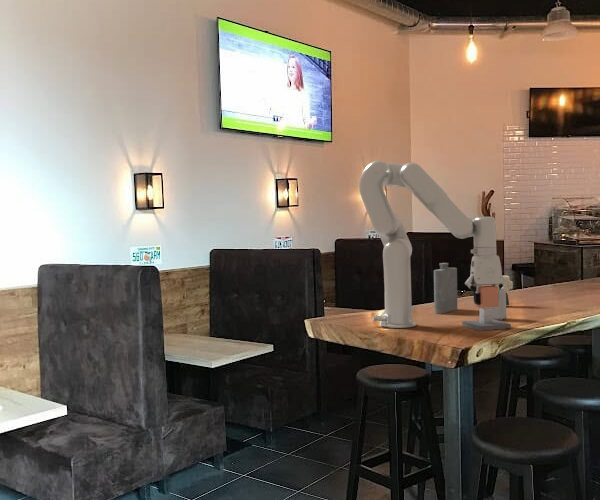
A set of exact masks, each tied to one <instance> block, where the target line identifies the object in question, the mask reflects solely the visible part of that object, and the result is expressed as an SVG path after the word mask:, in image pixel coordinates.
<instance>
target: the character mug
mask: <svg viewBox="0 0 600 500" xmlns="http://www.w3.org/2000/svg"><path fill="white" fill-rule="evenodd" d="M502 276H503V277H504V278H505V279H506V283H505V284H504V285H503V288H504V290H505V291H506V306H509V305H510V302H509V301H510V300H509V295H508V293H507V292H509V291H510V289H511V290H512V289H513V288H514V287H513V285H514V282H513V280H510V276H509V275H502Z"/></svg>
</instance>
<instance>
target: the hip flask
mask: <svg viewBox="0 0 600 500" xmlns="http://www.w3.org/2000/svg"><path fill="white" fill-rule="evenodd" d="M433 291H434V292H433V296H434V297H433V298H434V299H433V301H434V302H433V303H434V315H443V314H445V313H449V312H454V311H458V268H457V267H449V262H442V263H441V262H439V269H438V268H437V269H434V270H433Z"/></svg>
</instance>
